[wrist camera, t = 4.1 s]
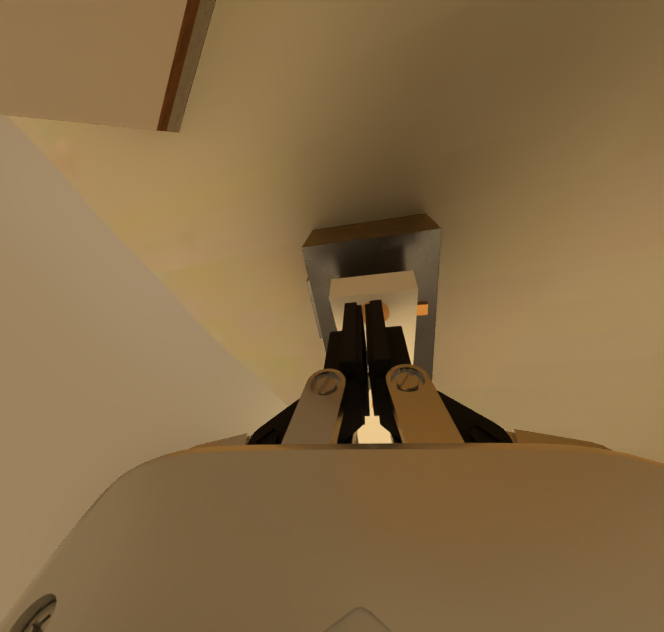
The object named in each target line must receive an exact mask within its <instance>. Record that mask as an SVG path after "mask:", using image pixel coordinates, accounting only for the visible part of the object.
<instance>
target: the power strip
mask: <svg viewBox="0 0 664 632" xmlns="http://www.w3.org/2000/svg"><path fill="white" fill-rule="evenodd" d="M440 243H441V228H440V227H439V226H438V225H437V224H436V223H435V222H434V221H433V220H432V219H431V218H430V217H429V216H428V215H427V214H420V215H413V216H407V217H400V218H393V219H386V220H379V221H373V222H366V223H359V224H352V225H346V226H339V227H332V228H325V229H318V230H313V231H312V232H311V234H310V235H309V237H308V239H307V240H306V242H305V243H304V245H303V246H302V251H303V256H304V260H305V264H306V268H307V273H308V279H307V285H308V289H309V293H310V298H311V302H312V306H313V310H314V314H315V318H316V322H317V327H318V331H319V335H320V338H323V341H324V345H325V350H326V353H327V347H328V341H329V335H330V332H332V331H337V327H336V324H335V320H334V316H333V312H332V308H331V304H330V300H329V294H330V285H331V279H338V278H347V277H356V276H365V275H375V274H384V273H393V272H402V271H411V270H413V272H414V276H415V279H416V283H417V287H418V301H417V316H416V331H415V346H414V360H413V365H415V366H418V367H420V368H422V369H423V370H424V371H426V373H427V374H428V375H429V377H430V379H431V381H432V371H433V355H434V339H435V323H436V307H437V291H438V275H439V259H440ZM368 377H369V372H368ZM355 444H359V443H358V436H357V431H356V441H355Z"/></svg>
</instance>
